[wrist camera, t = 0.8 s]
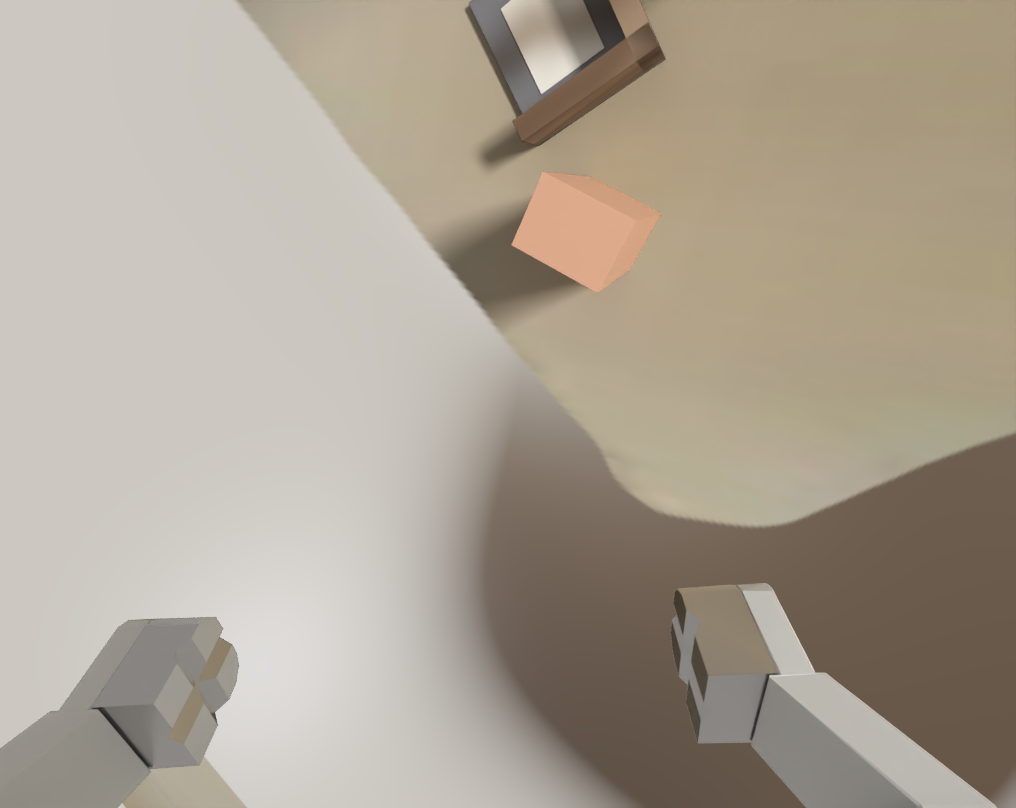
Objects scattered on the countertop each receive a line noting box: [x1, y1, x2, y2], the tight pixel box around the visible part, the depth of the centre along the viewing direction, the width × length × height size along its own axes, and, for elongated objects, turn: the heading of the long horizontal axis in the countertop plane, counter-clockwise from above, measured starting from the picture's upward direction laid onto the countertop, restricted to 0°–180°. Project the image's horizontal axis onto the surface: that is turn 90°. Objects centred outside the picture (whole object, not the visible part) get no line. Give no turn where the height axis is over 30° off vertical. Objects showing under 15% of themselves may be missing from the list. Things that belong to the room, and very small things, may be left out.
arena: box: [469, 0, 665, 146], centre depth 37 cm, size 11×10×4 cm
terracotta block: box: [512, 172, 661, 293], centre depth 37 cm, size 6×4×12 cm
